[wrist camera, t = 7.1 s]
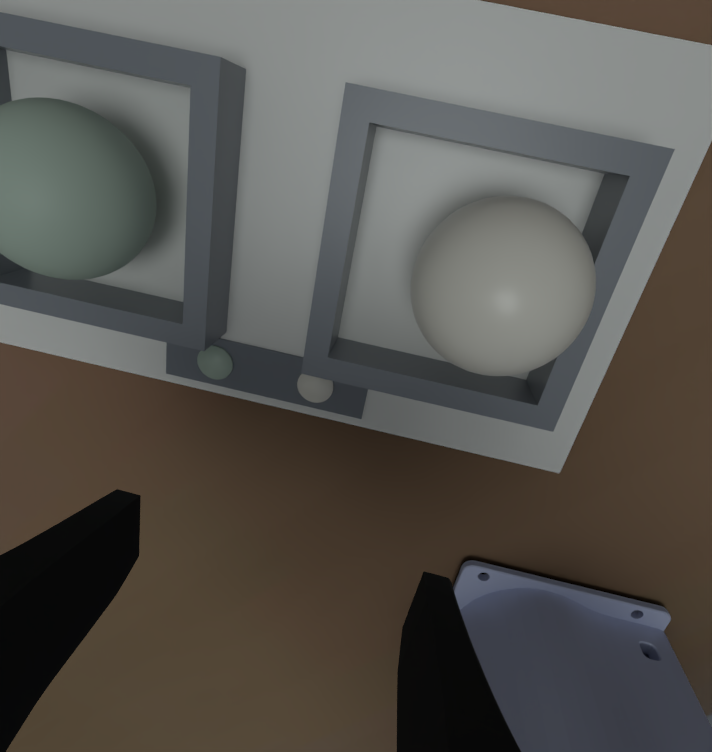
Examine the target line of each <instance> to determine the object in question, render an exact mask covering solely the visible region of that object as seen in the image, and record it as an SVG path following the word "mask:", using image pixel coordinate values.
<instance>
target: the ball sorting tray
mask: <svg viewBox="0 0 712 752" xmlns="http://www.w3.org/2000/svg"><path fill="white" fill-rule="evenodd" d="M35 97H42V98H53V99H60V100H64V101H68V102H71V103H75V104H78V105H80V106H83V107H85V108H87V109H89V110H91V111H93V112H95V113H97V114H99V115H100V116H102V117H104V118H105V119H107V120H108V121H109V122H111V123H112V124H113V125H115V126H116V127H117V128H118V129H120V130H121V131H122V132H123V133H124V134H125V135H126V136H127V137H128V138H129V140H130V141H131V142H132V143H133V144H134V146H135V147H136V148H137V150H138V151H139V153H140V154H141V156H142V157H143V159H144V161H145V163H146V165H147V167H148V169H149V171H150V174H151V176H152V179H153V183H154V186H155V192H156V203H157V208H156V218H155V223H154V227H153V230H152V233H151V235H150V237H149V239H148V241H147V243H146V245H145V246H144V248H143V249H142V250H141V252H140V253H139V254H138V255H137V256H136V257H135V258H134V259H133V260H132V261H130V262H129V263H128V264H127V265H125V266H124V267H122V268H120V269H118V270H116V271H114V272H112V273H110V274H107V275H104V276H100V277H97V278H92V279H84V280H66V279H59V278H53V277H48V276H45V275H41V274H38V273H35V272H33V271H30V270H28V269H26V268H23V267H22V266H20V265H18V264H16V263H14V262H13V261H11V260H9V259H8V258H6V257H5V256H4V255H2V254H1V253H0V342H2V343H6V344H10V345H15V346H19V347H23V348H27V349H32V350H36V351H40V352H44V353H49V354H53V355H57V356H61V357H66V358H70V359H74V360H78V361H83V362H87V363H91V364H95V365H100V366H104V367H108V368H113V369H117V370H121V371H125V372H130V373H134V374H138V375H142V376H147V377H151V378H155V379H159V380H164V381H168V382H172V383H176V384H181V385H185V386H189V387H194V388H198V389H202V390H206V391H211V392H215V393H219V394H223V395H228V396H232V397H236V398H240V399H245V400H249V401H253V402H257V403H262V404H266V405H270V406H275V407H279V408H283V409H287V410H292V411H296V412H300V413H304V414H309V415H313V416H317V417H321V418H326V419H330V420H334V421H338V422H343V423H347V424H351V425H356V426H360V427H364V428H368V429H373V430H377V431H381V432H385V433H390V434H394V435H398V436H402V437H407V438H411V439H415V440H419V441H424V442H428V443H432V444H437V445H441V446H445V447H449V448H454V449H458V450H462V451H466V452H471V453H475V454H479V455H483V456H488V457H492V458H496V459H500V460H505V461H509V462H513V463H518V464H522V465H526V466H530V467H535V468H539V469H543V470H547V471H552V472H556V473H560V471H561V469H562V467H563V465H564V463H565V460H566V458H567V456H568V454H569V452H570V449H571V447H572V445H573V443H574V441H575V439H576V436H577V434H578V432H579V430H580V428H581V425H582V423H583V421H584V419H585V417H586V414H587V412H588V410H589V408H590V406H591V404H592V401H593V399H594V397H595V395H596V393H597V390H598V388H599V386H600V384H601V382H602V379H603V377H604V375H605V373H606V371H607V369H608V366H609V364H610V362H611V360H612V358H613V355H614V353H615V351H616V349H617V347H618V344H619V342H620V340H621V338H622V336H623V333H624V331H625V329H626V327H627V325H628V323H629V320H630V318H631V316H632V314H633V312H634V309H635V307H636V305H637V303H638V301H639V298H640V296H641V294H642V292H643V290H644V288H645V285H646V283H647V281H648V279H649V277H650V274H651V272H652V270H653V268H654V266H655V263H656V261H657V259H658V257H659V255H660V253H661V250H662V248H663V246H664V244H665V242H666V239H667V237H668V235H669V233H670V231H671V228H672V226H673V224H674V222H675V220H676V218H677V215H678V213H679V211H680V209H681V207H682V204H683V202H684V200H685V198H686V196H687V193H688V191H689V189H690V187H691V185H692V182H693V180H694V178H695V176H696V174H697V172H698V169H699V167H700V165H701V163H702V161H703V158H704V156H705V154H706V152H707V150H708V147H709V145H710V143H711V141H712V45H708V44H702V43H697V42H692V41H687V40H682V39H676V38H671V37H666V36H661V35H656V34H651V33H645V32H640V31H635V30H630V29H625V28H620V27H614V26H609V25H604V24H599V23H594V22H588V21H583V20H578V19H573V18H568V17H563V16H557V15H552V14H547V13H542V12H537V11H532V10H526V9H521V8H516V7H511V6H506V5H501V4H495V3H490V2H485V1H480V0H0V105H2V104H5V103H7V102H10V101H14V100H19V99H24V98H35ZM496 196H519V197H526V198H531V199H534V200H538V201H540V202H543V203H546V204H548V205H550V206H551V207H553V208H555V209H557V210H558V211H560V212H561V213H562V214H564V215H565V216H566V217H567V218H569V219H570V220H571V222H572V223H573V224H574V225H575V226H576V227H577V228H578V229H579V231H580V232H581V234H582V235H583V237H584V238H585V240H586V242H587V244H588V246H589V248H590V251H591V253H592V257H593V261H594V266H595V271H596V291H595V298H594V303H593V306H592V310H591V312H590V315H589V317H588V320H587V322H586V324H585V325H584V327H583V329H582V330H581V332H580V333H579V335H578V336H577V338H576V339H575V340H574V341H573V342H572V344H571V345H570V346H569V347H568V348H567V349H566V350H565V351H564V352H563V353H561V354H560V355H559V356H558V357H556V358H555V359H553V360H552V361H550V362H549V363H547V364H545V365H543V366H541V367H539V368H537V369H534V370H532V371H529V372H525V373H522V374H517V375H510V376H487V375H480V374H476V373H473V372H469V371H466V370H464V369H462V368H460V367H457V366H455V365H453V364H452V363H450V362H449V361H447V360H446V359H444V358H443V357H442V356H440V355H439V354H438V353H437V352H436V351H435V350H434V349H433V348H432V347H431V345H430V344H429V343H428V342H427V340H426V339H425V338H424V336H423V334H422V332H421V330H420V329H419V327H418V325H417V322H416V319H415V316H414V313H413V308H412V303H411V292H410V289H411V278H412V273H413V268H414V265H415V262H416V258H417V256H418V254H419V252H420V249H421V248H422V246H423V244H424V242H425V241H426V239H427V238H428V236H429V235H430V234H431V232H432V231H433V230H434V229H435V228H436V227H437V226H438V225H439V224H440V223H441V222H442V221H443V220H444V219H446V218H447V217H448V216H449V215H450V214H452V213H453V212H455V211H456V210H458V209H460V208H462V207H464V206H466V205H468V204H470V203H473V202H475V201H478V200H481V199H484V198H490V197H496Z"/></svg>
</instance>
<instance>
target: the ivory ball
mask: <svg viewBox="0 0 712 752" xmlns="http://www.w3.org/2000/svg"><path fill="white" fill-rule="evenodd" d="M595 291H596V271H595V266H594V261H593V257H592V253H591V251H590V248H589V246H588V244H587V242H586V240H585V238H584V237H583V235H582V234H581V232H580V231H579V229H578V228H577V227H576V226H575V225H574V224H573V223H572V222H571V220H570V219H569V218H567V217H566V216H565V215H564V214H562V213H561V212H560V211H558V210H557V209H555V208H553V207H551V206H550V205H548V204H546V203H543V202H540V201H538V200H534V199H531V198H526V197H519V196H496V197H490V198H484V199H481V200H478V201H475V202H473V203H470V204H468V205H466V206H464V207H462V208H460V209H458V210H456V211H455V212H453V213H452V214H450V215H449V216H448V217H447V218H446V219H444V220H443V221H442V222H441V223H440V224H439V225H438V226H437V227H436V228H435V229H434V230H433V231H432V232H431V234H430V235H429V236H428V238H427V239H426V241H425V242H424V244H423V246H422V248H421V249H420V252H419V254H418V256H417V258H416V262H415V265H414V268H413V273H412V278H411V289H410V292H411V303H412V308H413V313H414V316H415V319H416V322H417V325H418V327H419V329H420V330H421V332H422V334H423V336H424V338H425V339H426V340H427V342H428V343H429V344H430V345H431V347H432V348H433V349H434V350H435V351H436V352H437V353H438V354H439V355H440V356H442V357H443V358H444V359H446V360H447V361H449V362H450V363H452V364H453V365H455V366H457V367H460V368H462V369H464V370H466V371H469V372H473V373H476V374H480V375H487V376H510V375H517V374H522V373H525V372H529V371H532V370H534V369H537V368H539V367H541V366H543V365H545V364H547V363H549V362H550V361H552V360H553V359H555V358H556V357H558V356H559V355H560V354H561V353H563V352H564V351H565V350H566V349H567V348H568V347H569V346H570V345H571V344H572V342H573V341H574V340H575V339H576V338H577V336H578V335H579V333H580V332H581V330H582V329H583V327H584V325H585V324H586V322H587V320H588V317H589V315H590V312H591V310H592V306H593V303H594V298H595Z"/></svg>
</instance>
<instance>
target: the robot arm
mask: <svg viewBox="0 0 712 752" xmlns="http://www.w3.org/2000/svg"><path fill="white" fill-rule="evenodd" d="M139 533H140V495H136V494H133V493H129V492H125V491H121V490H118V489H117V490H115V491H113V492H111V493H110V494H108V495H106V496H104V497H103V498H101V499H99V500H98V501H96V502H94V503H92V504H91V505H89V506H87V507H86V508H84V509H82V510H81V511H79V512H77V513H76V514H74V515H72V516H70V517H69V518H67V519H65V520H64V521H62V522H60V523H58V524H57V525H55V526H53V527H51V528H50V529H48V530H46V531H44V532H43V533H41V534H39V535H37V536H35V537H34V538H32V539H30V540H28V541H27V542H25V543H23V544H21V545H19V546H17V547H16V548H14V549H12V550H10V551H8V552H6V553H4V554H2V555H0V752H6V750H7V748H8V747H9V745H10V744H11V742H12V741H13V739H14V737H15V736H16V734H17V733H18V731H19V729H20V728H21V726H22V725H23V723H24V721H25V720H26V718H27V717H28V715H29V714H30V712H31V710H32V709H33V707H34V706H35V704H36V703H37V701H38V700H39V698H40V697H41V695H42V694H43V693H44V691H45V690H46V688H47V687H48V685H49V684H50V683H51V681H52V680H53V679H54V677H55V676H56V675H57V673H58V672H59V671H60V669H61V668H62V667H63V665H64V664H65V663H66V661H67V660H68V659H69V657H70V656H71V655H72V653H73V652H74V651H75V649H76V648H77V647H78V645H79V644H80V643H81V641H82V640H83V639H84V637H85V636H86V635H87V633H88V632H89V631H90V629H91V628H92V627H93V625H94V624H95V623H96V621H97V620H98V619H99V617H100V616H101V615H102V613H103V612H104V611H105V609H106V608H107V607H108V605H109V604H110V602H111V601H112V600H113V598H114V597H115V596H116V594H117V592H118V591H119V589H120V588H121V586H122V584H123V583H124V581H125V579H126V578H127V576H128V574H129V572H130V571H131V569H132V567H133V565H134V564H135V562H136V560H137V558H138V556H139ZM480 573H487V574H480ZM636 610H637V611H636ZM670 620H671V617H670V614H669V612H668V610H667V609H666V608H665V607H662V606H659V605H655V604H651V603H647V602H643V601H639V600H635V599H631V598H626V597H622V596H618V595H614V594H610V593H606V592H602V591H598V590H594V589H590V588H586V587H581V586H577V585H573V584H569V583H565V582H561V581H557V580H553V579H549V578H545V577H541V576H536V575H532V574H528V573H524V572H520V571H516V570H512V569H508V568H504V567H500V566H496V565H491V564H487V563H483V562H479V561H475V560H469V561H466V562H464V563H463V565H462V566H461V569H460V571H459V574H458V576H457V579H456V582H455V584H454V587H452V583H451V581H450V580H449V578H446V577H443V576H439V575H435V574H431V573H428V572H423V575H422V578H421V580H420V583H419V586H418V588H417V591H416V594H415V596H414V599H413V601H412V604H411V607H410V609H409V612H408V615H407V617H406V620H405V623H404V625H403V629H402V638H401V646H400V655H399V665H398V685H397V752H712V727H711V725H710V723H709V721H708V719H707V717H706V715H705V713H704V711H703V709H702V707H701V705H700V703H699V701H698V699H697V697H696V695H695V693H694V691H693V689H692V687H691V685H690V683H689V681H688V679H687V677H686V675H685V673H684V671H683V669H682V667H681V665H680V663H679V661H678V659H677V657H676V655H675V653H674V651H673V649H672V647H671V645H670V643H669V641H668V639H667V637H666V635H665V633H664V630H665V628H666V627H667V625H668V624H669V622H670Z"/></svg>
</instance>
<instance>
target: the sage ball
mask: <svg viewBox="0 0 712 752" xmlns="http://www.w3.org/2000/svg"><path fill="white" fill-rule="evenodd" d="M156 208H157V203H156V192H155V186H154V183H153V179H152V176H151V174H150V171H149V169H148V167H147V165H146V163H145V161H144V159H143V157H142V156H141V154H140V153H139V151H138V150H137V148H136V147H135V146H134V144H133V143H132V142H131V141H130V140H129V138H128V137H127V136H126V135H125V134H124V133H123V132H122V131H121V130H120V129H118V128H117V127H116V126H115V125H113V124H112V123H111V122H109V121H108V120H107V119H105V118H104V117H102V116H100V115H99V114H97V113H95V112H93V111H91V110H89V109H87V108H85V107H83V106H80V105H78V104H75V103H71V102H68V101H64V100H60V99H53V98H42V97H35V98H24V99H19V100H14V101H10V102H7V103H5V104H2V105H0V253H1V254H2V255H4V256H5V257H6V258H8V259H9V260H11V261H13V262H14V263H16V264H18V265H20V266H22V267H23V268H26V269H28V270H30V271H33V272H35V273H38V274H41V275H45V276H48V277H53V278H59V279H66V280H84V279H92V278H97V277H100V276H104V275H107V274H110V273H112V272H114V271H116V270H118V269H120V268H122V267H124V266H125V265H127V264H128V263H129V262H130V261H132V260H133V259H134V258H135V257H136V256H137V255H138V254H139V253H140V252H141V250H142V249H143V248H144V246H145V245H146V243H147V241H148V239H149V237H150V235H151V233H152V230H153V227H154V223H155V218H156Z"/></svg>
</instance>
